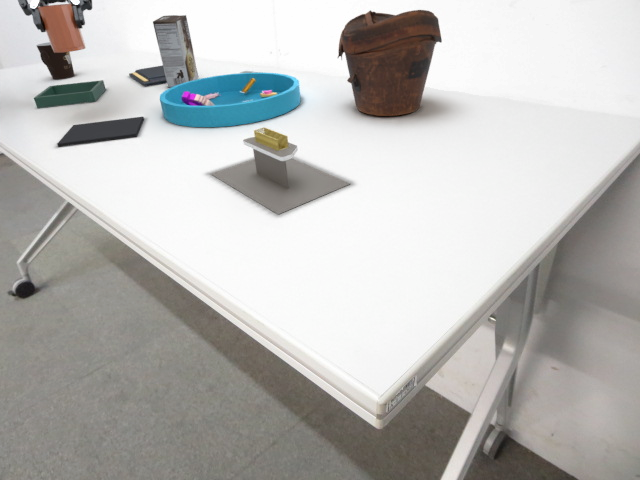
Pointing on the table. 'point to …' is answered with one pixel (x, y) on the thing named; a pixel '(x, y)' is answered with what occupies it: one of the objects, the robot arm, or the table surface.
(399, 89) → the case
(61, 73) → the coffee mug
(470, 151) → the table surface
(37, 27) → the robot arm
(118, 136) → the mat
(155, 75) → the wallet
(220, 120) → the blue plastic shallow tray
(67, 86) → the compartment
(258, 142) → the platform
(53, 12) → the cup
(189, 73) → the coffee box
